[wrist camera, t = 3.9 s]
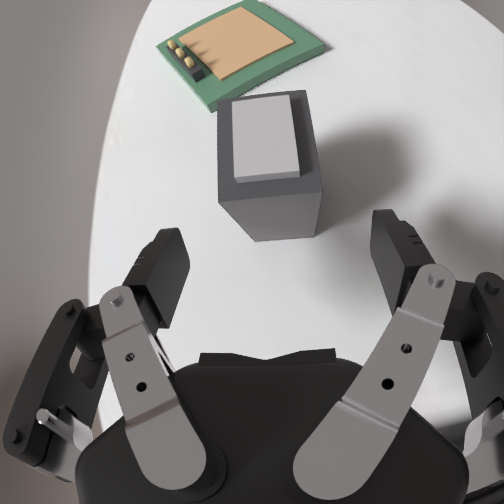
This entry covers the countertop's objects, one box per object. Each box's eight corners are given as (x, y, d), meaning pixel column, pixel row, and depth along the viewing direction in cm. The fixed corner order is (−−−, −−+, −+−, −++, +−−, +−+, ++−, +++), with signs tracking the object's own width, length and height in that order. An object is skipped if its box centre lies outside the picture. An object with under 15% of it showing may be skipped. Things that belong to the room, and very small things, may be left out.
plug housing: (306, 168, 20) (305, 81, 11) (313, 237, 19) (323, 186, 10) (251, 174, 21) (214, 93, 11) (254, 241, 20) (213, 197, 11)
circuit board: (252, 4, 24) (247, -17, 20) (323, 52, 21) (324, 26, 18) (160, 53, 25) (147, 33, 21) (211, 113, 22) (198, 89, 19)
